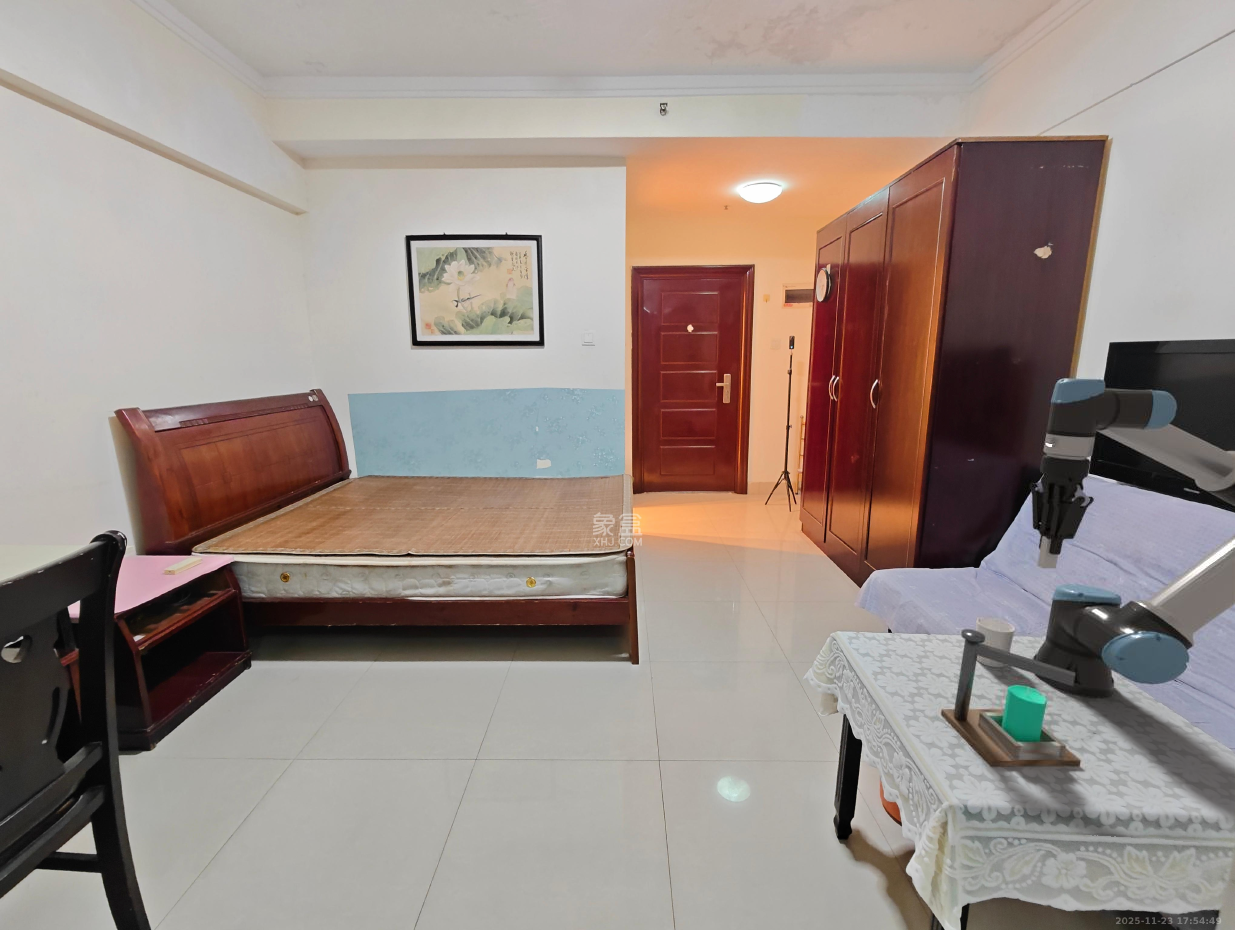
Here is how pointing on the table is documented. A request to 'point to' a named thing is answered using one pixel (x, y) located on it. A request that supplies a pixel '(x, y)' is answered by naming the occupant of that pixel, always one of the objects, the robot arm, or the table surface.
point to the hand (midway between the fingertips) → (1046, 566)
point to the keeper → (1017, 661)
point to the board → (1008, 741)
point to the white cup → (995, 637)
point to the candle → (1024, 713)
